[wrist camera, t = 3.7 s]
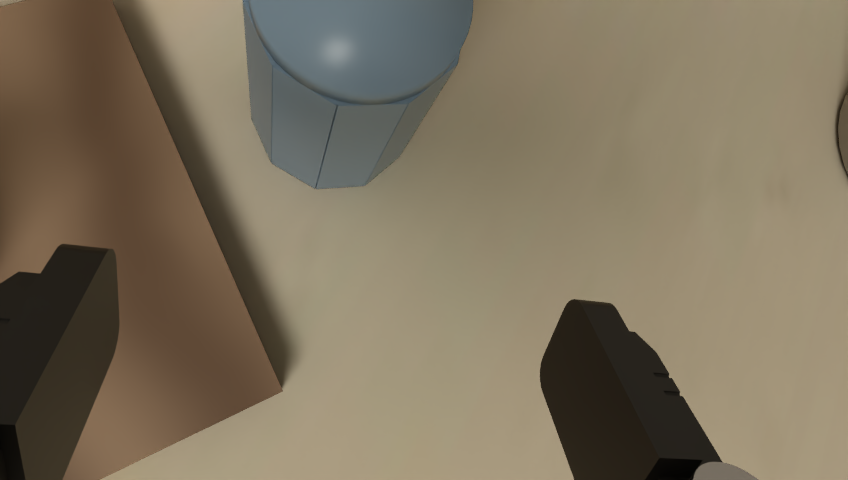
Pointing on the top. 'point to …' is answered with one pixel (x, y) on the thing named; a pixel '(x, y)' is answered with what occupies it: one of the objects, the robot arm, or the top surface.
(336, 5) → the blue-grey rounded cylinder
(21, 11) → the post dock
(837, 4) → the top surface
